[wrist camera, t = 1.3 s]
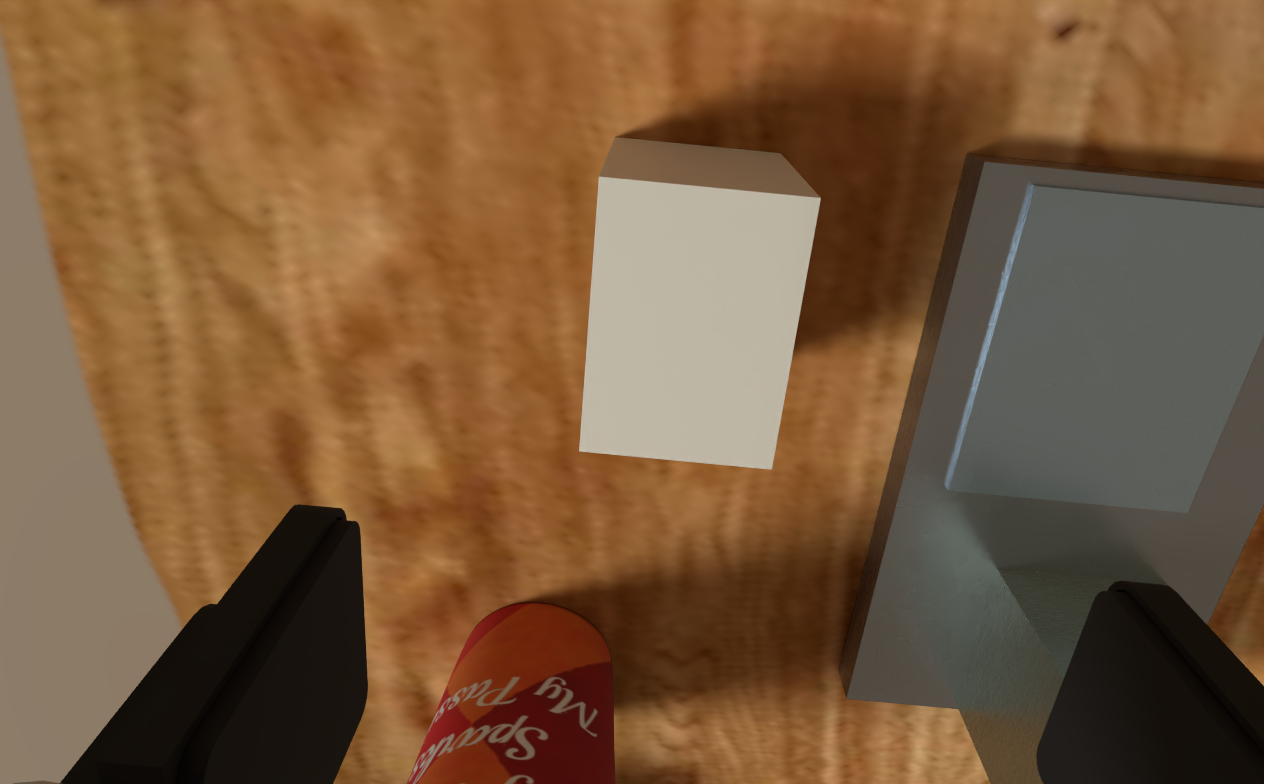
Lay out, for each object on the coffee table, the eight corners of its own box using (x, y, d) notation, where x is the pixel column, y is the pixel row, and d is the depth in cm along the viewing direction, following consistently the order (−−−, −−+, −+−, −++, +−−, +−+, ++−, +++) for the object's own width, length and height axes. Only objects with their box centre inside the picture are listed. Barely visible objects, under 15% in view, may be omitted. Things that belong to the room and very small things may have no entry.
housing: (615, 136, 25) (599, 176, 19) (780, 152, 25) (820, 198, 19) (598, 352, 28) (579, 451, 21) (746, 366, 28) (771, 469, 22)
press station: (966, 153, 25) (1094, 210, 18) (1364, 192, 25) (1656, 263, 18) (838, 670, 33) (889, 855, 26) (1138, 698, 33) (1273, 890, 26)
